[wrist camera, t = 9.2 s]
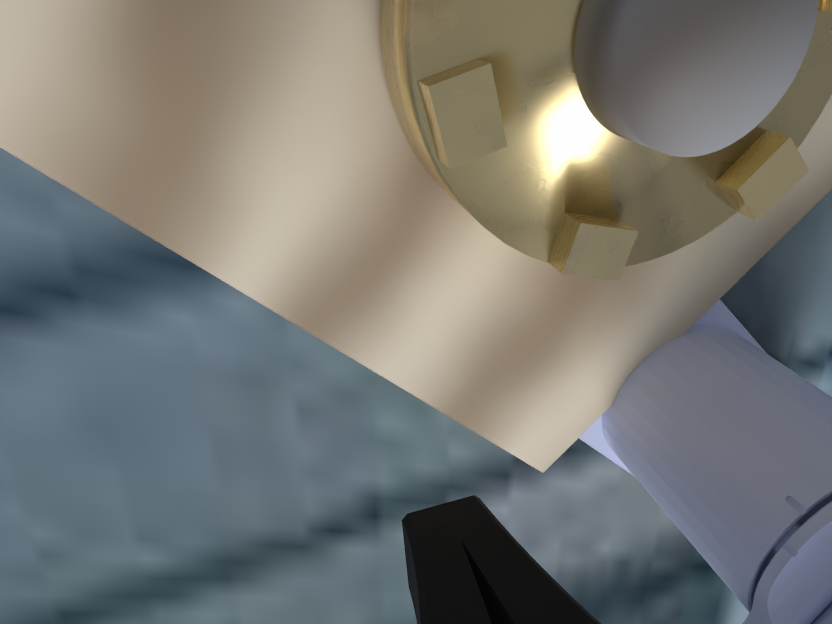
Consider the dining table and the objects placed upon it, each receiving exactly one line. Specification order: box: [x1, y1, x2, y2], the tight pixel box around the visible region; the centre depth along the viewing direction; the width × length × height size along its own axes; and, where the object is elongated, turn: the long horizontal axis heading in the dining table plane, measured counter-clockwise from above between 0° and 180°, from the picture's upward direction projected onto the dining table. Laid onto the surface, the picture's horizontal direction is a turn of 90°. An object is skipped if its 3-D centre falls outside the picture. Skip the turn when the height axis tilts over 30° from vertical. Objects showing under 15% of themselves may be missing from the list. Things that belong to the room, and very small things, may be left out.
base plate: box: [0, 0, 832, 473], centre depth 15 cm, size 24×24×6 cm
